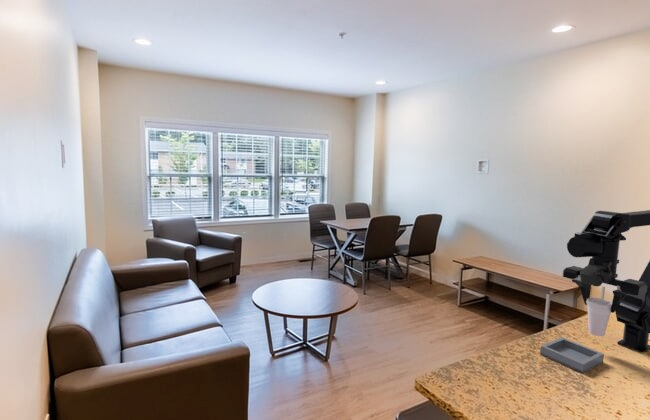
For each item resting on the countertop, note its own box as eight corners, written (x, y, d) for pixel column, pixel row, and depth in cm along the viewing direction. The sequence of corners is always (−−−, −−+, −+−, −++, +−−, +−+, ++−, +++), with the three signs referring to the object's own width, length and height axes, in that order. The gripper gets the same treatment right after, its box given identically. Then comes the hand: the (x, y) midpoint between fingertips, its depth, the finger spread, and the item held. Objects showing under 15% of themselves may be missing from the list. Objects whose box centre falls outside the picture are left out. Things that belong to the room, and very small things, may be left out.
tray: (561, 345, 110) (562, 337, 110) (603, 362, 100) (604, 353, 100) (540, 354, 105) (540, 345, 104) (582, 373, 95) (583, 364, 95)
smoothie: (615, 339, 102) (620, 291, 101) (589, 337, 104) (594, 289, 102) (602, 329, 109) (607, 284, 107) (578, 327, 110) (583, 282, 108)
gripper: (554, 251, 107) (550, 302, 109) (632, 267, 91) (625, 327, 93) (574, 247, 113) (570, 296, 115) (651, 262, 97) (644, 318, 99)
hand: (599, 308), depth 105 cm, fingers closed on smoothie, 6 cm apart
